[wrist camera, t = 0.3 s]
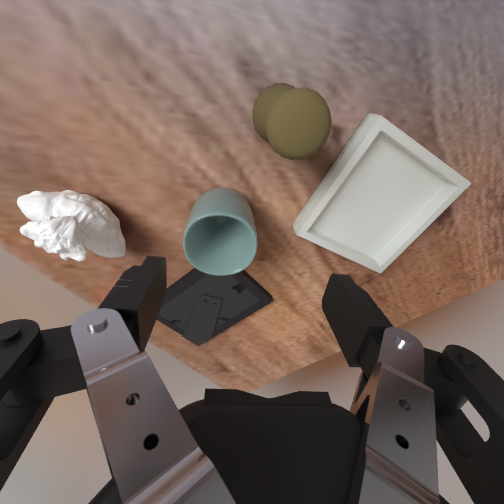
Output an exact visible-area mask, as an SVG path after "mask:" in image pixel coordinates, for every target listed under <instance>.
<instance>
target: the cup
mask: <svg viewBox="0 0 504 504" xmlns="http://www.w3.org/2000/svg"><path fill="white" fill-rule="evenodd" d="M257 245H258V238H257V231H256V225H255V220H254V216H253V212H252V210H251V207H250V205H249V203H248V201H247V200H246V198H245V197H244V196H243V195H242V194H241V193H239V192H237V191H235V190H233V189H230V188H224V187H218V188H212V189H210V190H207V191H206V192H204V193H203V194H201V195H200V197H199V198H198V199H197V200H196V202H195V204H194V206H193V207H192V209H191V212H190V214H189V217H188V220H187V224H186V227H185V231H184V235H183V248H184V253H185V255H186V258H187V259H188V261H189V262H190V263H191V264H192V265H193V267H195V268H196V269H198V270H199V271H202V272H204V273H207V274H211V275H219V276H222V275H232V274H235V273H238V272H240V271H242V270H244V269H246V268H247V267H248V266H249V265H250V264H251V262H252V261H253V259H254V257H255V255H256V251H257Z"/></svg>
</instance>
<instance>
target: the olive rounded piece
mask: <svg viewBox="0 0 504 504" xmlns="http://www.w3.org/2000/svg"><path fill="white" fill-rule="evenodd" d="M253 123H254V127H255V130H256V131H257V133H258V134H259V136H260V137H261V138H263V139H264V140H265V141H267V142H269V143H270V144H271V146H272V147H273V149H274V150H275V152H277V153H278V154H279V155H281V156H282V157H284V158H288V159H291V160H296V159H304V158H307V157H310V156H312V155H313V154H314V153H316V152H317V151H318V150H319V149H320V148H321V147H322V145H323V144H324V143H325V141H326V139H327V137H328V135H329V132H330V126H331V115H330V110H329V107H328V105H327V103H326V101H325V99H324V98H323V97H322V96H321V95H320V94H319V93H318V92H316V91H314V90H311V89H308V88H294V87H293V86H291V85H288V84H286V83H275V84H273V85H270V86H268V87H267V88H265V89H264V90H263V91H262V92H261V93H260V94H259V96H258V98H257V99H256V101H255V104H254V108H253Z"/></svg>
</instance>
